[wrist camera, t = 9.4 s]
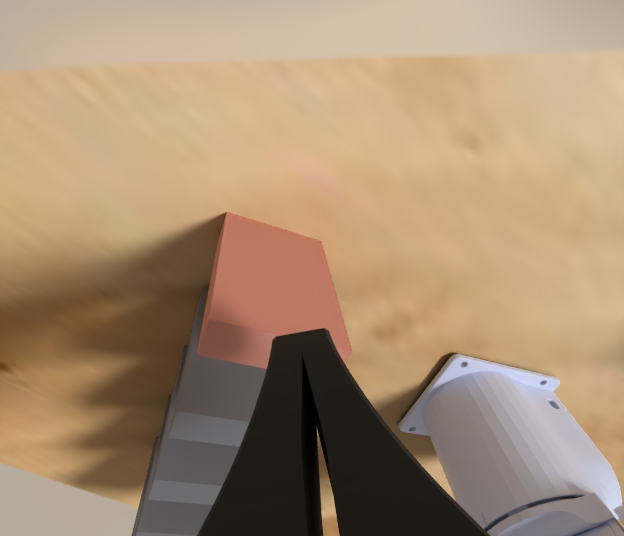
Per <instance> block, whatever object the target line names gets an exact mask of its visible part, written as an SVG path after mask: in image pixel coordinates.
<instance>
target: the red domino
mask: <svg viewBox="0 0 624 536" xmlns="http://www.w3.org/2000/svg"><path fill="white" fill-rule="evenodd" d="M321 328H325V329H327V330H329V332H330V335H331V338H332V340H333V342H334V345H335V347H336V349H337V351H338V353H339V354H340V356H341V358H342V360H343V362H344V363H345V362H346V361H347V359H348V357H349V356H350V354H351V352H352V349H351V345H350V342H349V338H348V335H347V331H346V327H345V324H344V320H343V317H342V313H341V310H340V306H339V302H338V299H337V295H336V292H335V288H334V285H333V281H332V277H331V274H330V270H329V267H328V263H327V260H326V256H325V252H324V249H323V245H322V242H321V241H319V240H316V239H313V238H309V237H306V236H303V235H300V234H296V233H293V232H290V231H287V230H283V229H280V228H277V227H274V226H270V225H267V224H264V223H261V222H257V221H254V220H251V219H248V218H244V217H241V216H238V215H235V214H231V213H228V212H227V213H226V216H225V219H224V222H223V226H222V229H221V232H220V235H219V238H218V242H217V248H216V253H215V259H214V264H213V269H212V275H211V280H210V286H209V291H208V296H207V302H206V307H205V312H204V318H203V323H202V329H201V334H200V339H199V345H198V350H197V355H198V356H203V357H208V358H214V359H219V360H224V361H229V362H234V363H239V364H244V365H250V366H255V367H260V368H265V369H267V366H268V362H269V357H270V352H271V347H272V340H273V339H274V338H275V337H276V336H281V335H286V334H292V333H298V332H304V331H309V330H315V329H321Z"/></svg>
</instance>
